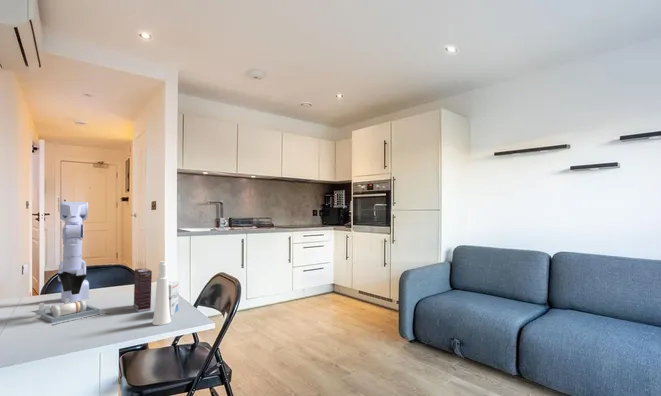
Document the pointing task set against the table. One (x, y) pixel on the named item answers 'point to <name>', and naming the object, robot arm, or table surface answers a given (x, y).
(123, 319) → the table surface
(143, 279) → the supplement box
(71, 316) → the tray
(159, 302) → the cosmetic bottle
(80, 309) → the fuse
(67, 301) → the fuse holder
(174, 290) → the ink box
